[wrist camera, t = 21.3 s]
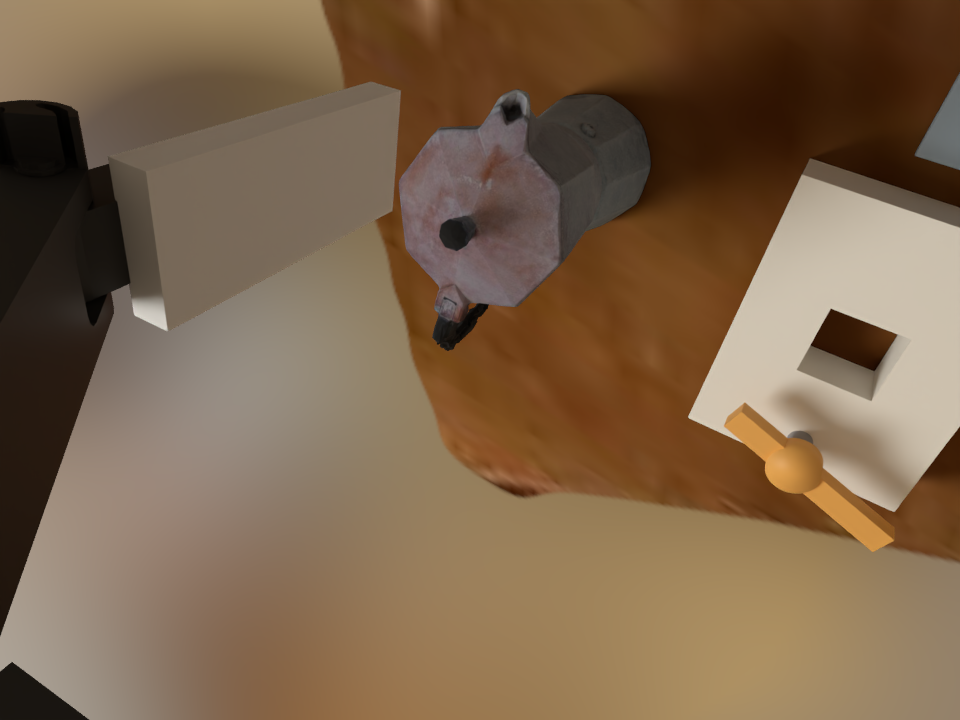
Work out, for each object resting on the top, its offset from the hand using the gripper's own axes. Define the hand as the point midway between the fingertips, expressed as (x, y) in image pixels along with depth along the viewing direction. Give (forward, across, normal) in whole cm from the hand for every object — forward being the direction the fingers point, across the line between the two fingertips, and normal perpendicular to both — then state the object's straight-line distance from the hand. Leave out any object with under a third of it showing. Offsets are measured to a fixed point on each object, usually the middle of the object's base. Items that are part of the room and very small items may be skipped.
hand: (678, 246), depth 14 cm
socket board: (+34, +8, -16) cm, 38 cm away
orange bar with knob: (+28, +8, -23) cm, 37 cm away
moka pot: (+34, -12, -11) cm, 38 cm away
